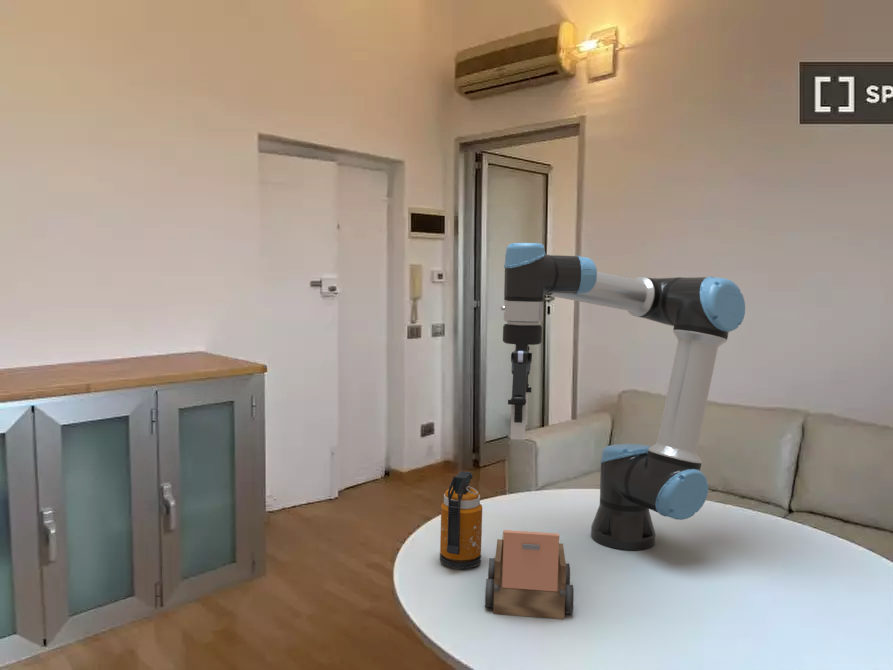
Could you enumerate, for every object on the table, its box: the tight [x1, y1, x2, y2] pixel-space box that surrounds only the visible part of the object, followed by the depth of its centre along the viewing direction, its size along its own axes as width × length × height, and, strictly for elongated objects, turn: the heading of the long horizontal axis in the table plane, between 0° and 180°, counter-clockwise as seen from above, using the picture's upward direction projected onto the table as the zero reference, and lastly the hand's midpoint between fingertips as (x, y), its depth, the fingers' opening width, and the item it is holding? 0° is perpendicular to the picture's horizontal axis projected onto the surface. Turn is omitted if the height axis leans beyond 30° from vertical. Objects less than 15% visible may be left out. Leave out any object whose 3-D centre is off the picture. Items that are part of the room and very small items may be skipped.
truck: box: [484, 530, 575, 620], centre depth 132 cm, size 16×17×10 cm
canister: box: [439, 470, 483, 570], centre depth 146 cm, size 9×11×20 cm
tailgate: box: [502, 529, 560, 592], centre depth 123 cm, size 10×2×10 cm, turn 83°
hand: (519, 431), depth 132 cm, fingers open, 13 cm apart
